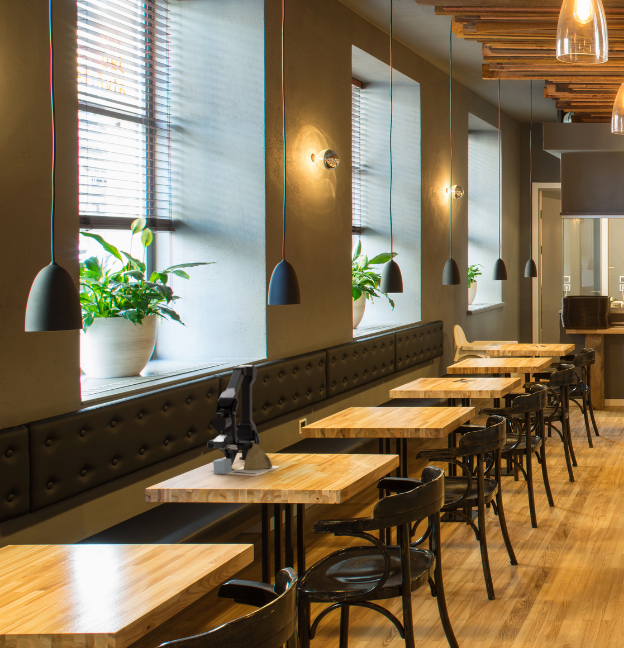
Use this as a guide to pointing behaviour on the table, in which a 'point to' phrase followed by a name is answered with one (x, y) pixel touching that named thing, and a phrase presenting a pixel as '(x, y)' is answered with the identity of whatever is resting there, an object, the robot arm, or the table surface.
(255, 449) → the rock
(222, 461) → the cube
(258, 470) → the letter
